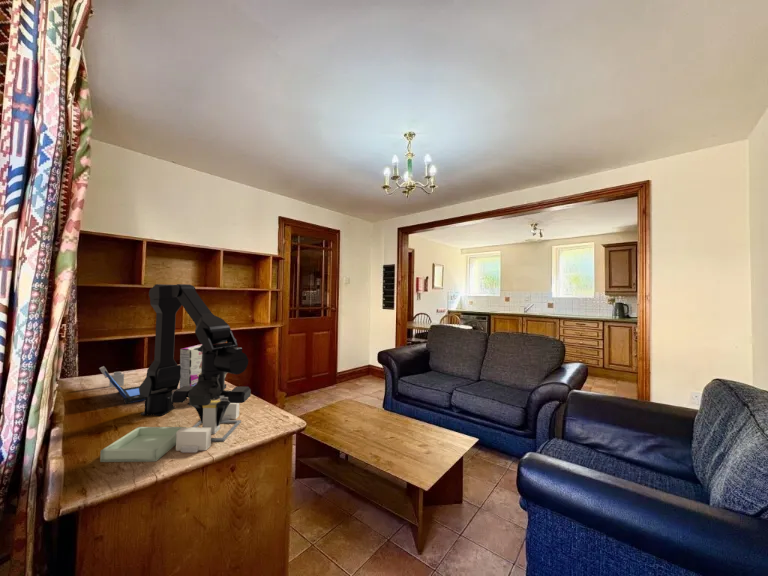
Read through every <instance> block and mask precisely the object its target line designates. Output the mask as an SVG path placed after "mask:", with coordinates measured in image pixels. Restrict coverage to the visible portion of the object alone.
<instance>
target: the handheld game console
mask: <svg viewBox="0 0 768 576" xmlns="http://www.w3.org/2000/svg"><path fill="white" fill-rule="evenodd" d="M105 374H106V376H107V379H108V380H109V382H111V383H112V384H113V385H114V388H115V389H116V390H117V391H118V394H119V395H120V397H122V399H123V401H124V403H125V404H127V405H128V404H131V403H137V402H141V401H142V402H143V401H145V396H143V395H140V393H139V387H140V385H139V386H131V387H126V388H123V387H122V386H119V385H118V384H117V383H116V382H115V380H114V379H113V378H112V377H111V376H110V375H111V374H110V373H109V372H108V370H107V371H105Z"/></svg>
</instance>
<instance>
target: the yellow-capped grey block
mask: <svg viewBox="0 0 768 576" xmlns="http://www.w3.org/2000/svg"><path fill="white" fill-rule="evenodd" d="M218 402H220V400H217V399H213V400H211V402H210V404H208V405H205V406H203V424H202V427H211V435H215V434H216V433H217V432H218V431H219V430H221V424H220V425H219V426H217V424H216V420H217V410H218V408H217V406H216V404H217V403H218Z"/></svg>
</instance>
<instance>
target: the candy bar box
mask: <svg viewBox="0 0 768 576" xmlns="http://www.w3.org/2000/svg"><path fill="white" fill-rule="evenodd" d="M201 346H202V344H201V343H200V344H197V345H192V346H191V345H190V346H188V347H184V348H180V349H179V354H180V355H179V365H180V366H181V371H180V375H181V378H180V381H179V389H180V388H181V387H183V386H195V385H196V384H197V382H198V377H197V374H199V373H201V370H202V352H200V351H198V348H199V347H201Z"/></svg>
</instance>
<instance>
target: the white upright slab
mask: <svg viewBox="0 0 768 576" xmlns="http://www.w3.org/2000/svg"><path fill="white" fill-rule="evenodd" d="M99 370H100V372H101V373H102V375H103V376H104V378H105V379H106V378H107V379H108V377H107V376H106V374H105V371H107V372H108V370H107V368H106V367H105V366H104V365H103V366H101V367H99ZM109 375H110V376H111V377H112V378H113V379H114V380H115V382H116V383H117V384H118V385H119V386H120V387H122V386H125V384H124V383H125V373H123V372H122V371H114V372H113V374H109ZM108 385H109V388H113V387H114V385H113V384H112V383H111V382H110V381H109V383H108ZM114 388H115V387H114Z"/></svg>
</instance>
